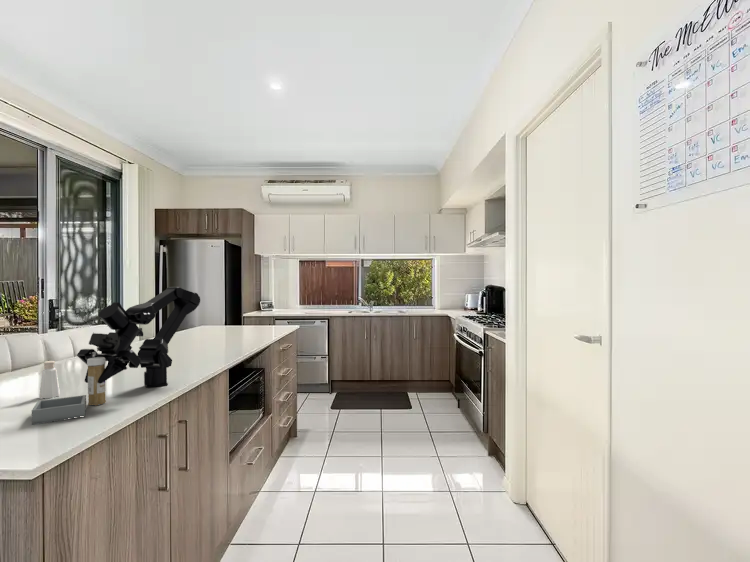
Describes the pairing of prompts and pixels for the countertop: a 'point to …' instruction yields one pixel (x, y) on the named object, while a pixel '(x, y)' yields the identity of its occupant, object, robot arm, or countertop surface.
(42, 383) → the pepper shaker
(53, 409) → the tray
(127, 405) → the countertop surface
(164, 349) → the robot arm
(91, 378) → the sprinkles bottle
